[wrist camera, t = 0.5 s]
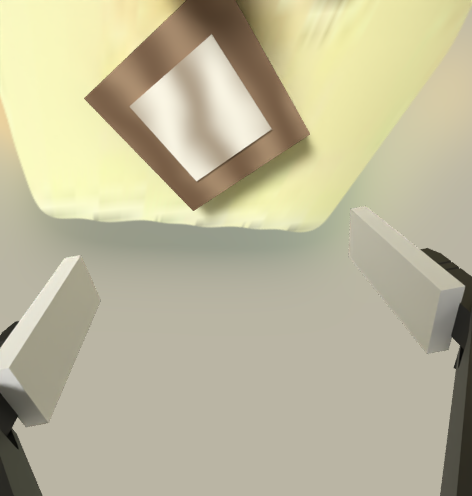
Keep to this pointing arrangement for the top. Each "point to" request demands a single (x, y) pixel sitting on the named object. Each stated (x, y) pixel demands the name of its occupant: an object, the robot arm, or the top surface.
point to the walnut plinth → (200, 101)
